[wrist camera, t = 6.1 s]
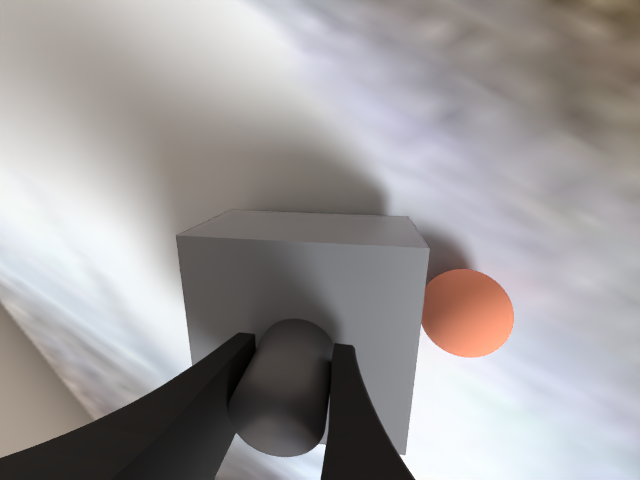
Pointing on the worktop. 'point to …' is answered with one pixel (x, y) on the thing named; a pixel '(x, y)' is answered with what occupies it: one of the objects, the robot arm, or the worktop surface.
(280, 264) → the grey block
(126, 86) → the worktop surface
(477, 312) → the ball
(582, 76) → the worktop surface
